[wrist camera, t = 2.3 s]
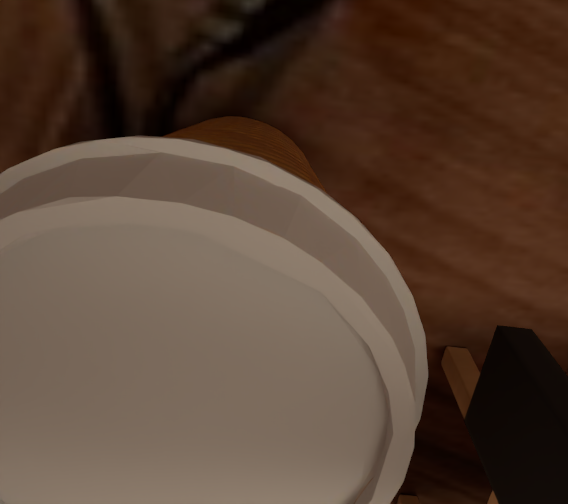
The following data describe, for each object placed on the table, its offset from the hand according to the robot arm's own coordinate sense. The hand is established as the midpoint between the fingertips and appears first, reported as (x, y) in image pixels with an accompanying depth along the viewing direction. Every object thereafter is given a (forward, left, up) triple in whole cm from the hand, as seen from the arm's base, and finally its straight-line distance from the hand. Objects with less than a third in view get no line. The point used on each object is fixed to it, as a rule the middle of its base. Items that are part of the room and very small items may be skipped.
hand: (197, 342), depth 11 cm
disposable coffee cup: (0, 0, -9) cm, 9 cm away
